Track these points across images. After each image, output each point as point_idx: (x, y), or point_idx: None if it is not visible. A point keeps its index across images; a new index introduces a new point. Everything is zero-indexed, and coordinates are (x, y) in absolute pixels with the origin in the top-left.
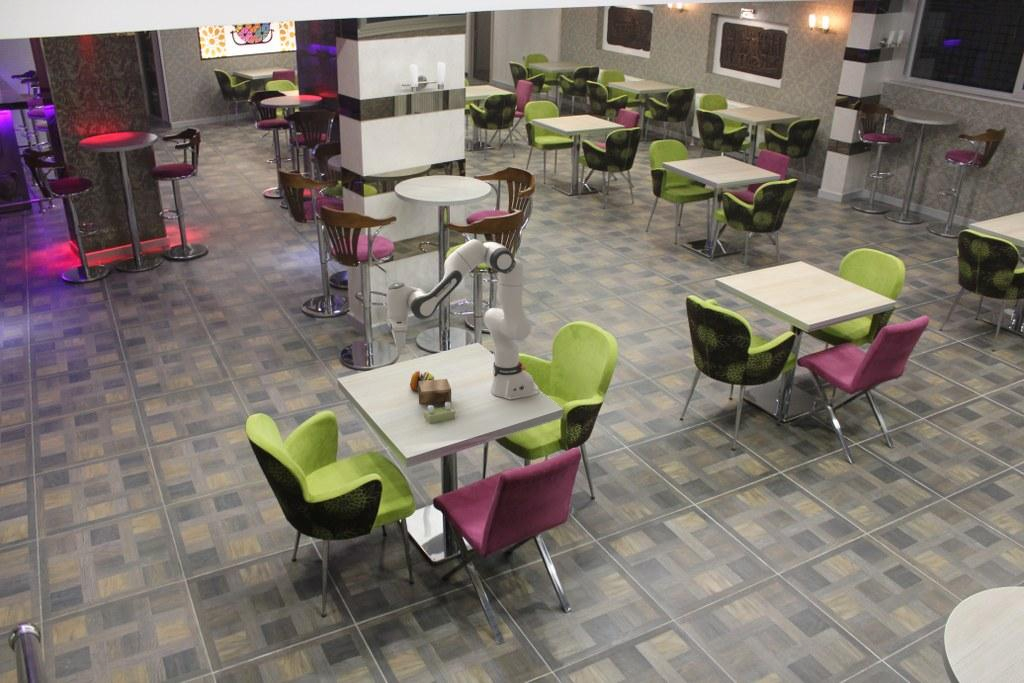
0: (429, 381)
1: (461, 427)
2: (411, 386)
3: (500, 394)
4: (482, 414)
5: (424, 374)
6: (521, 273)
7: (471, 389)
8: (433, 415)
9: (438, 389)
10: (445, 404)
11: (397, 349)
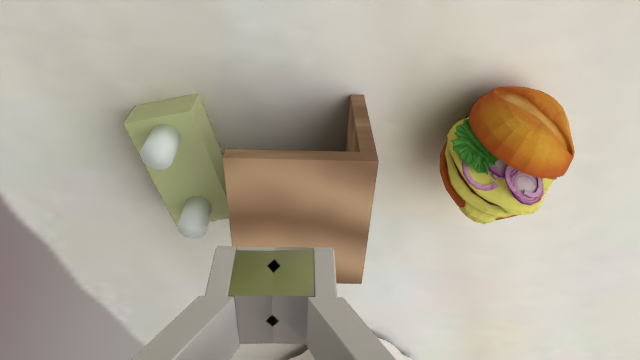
0: (355, 213)
1: (99, 213)
2: (510, 94)
3: (311, 355)
4: (205, 284)
5: (521, 190)
6: None
7: (414, 287)
8: (134, 143)
9: (241, 236)
10: (183, 216)
11: (213, 275)
